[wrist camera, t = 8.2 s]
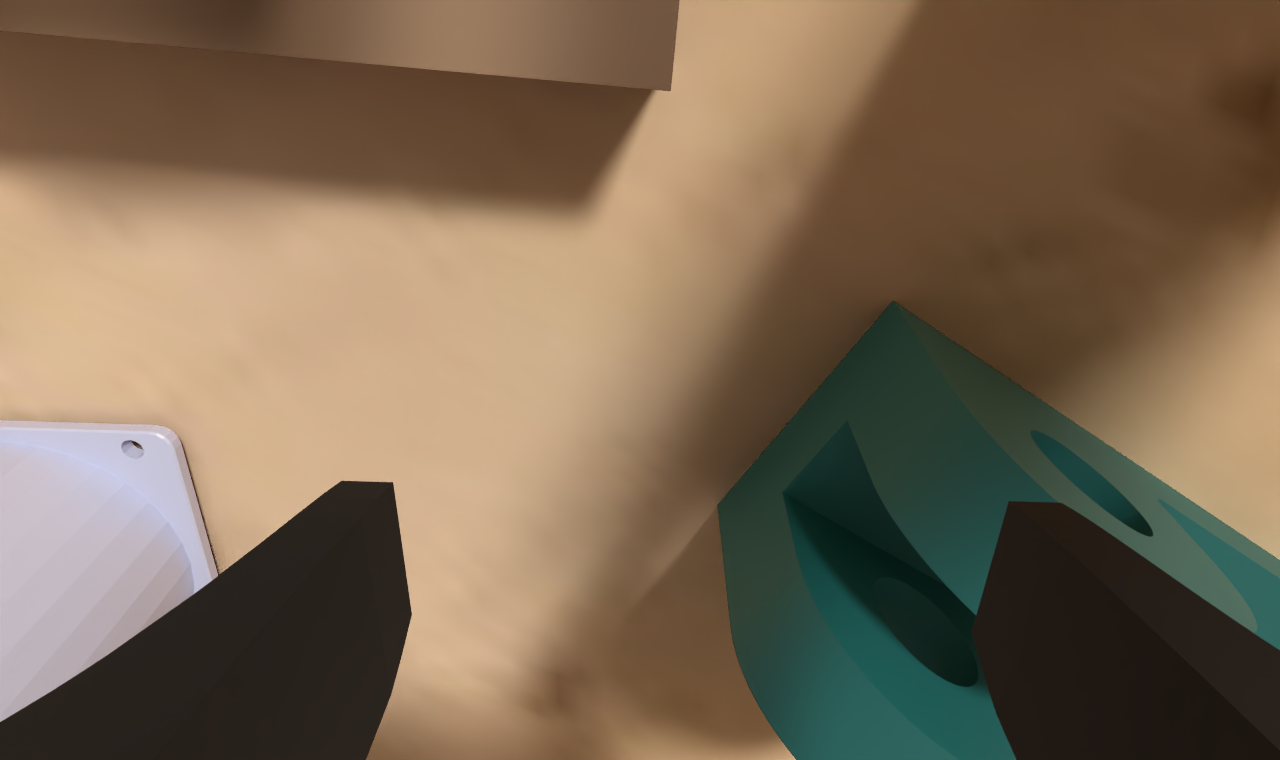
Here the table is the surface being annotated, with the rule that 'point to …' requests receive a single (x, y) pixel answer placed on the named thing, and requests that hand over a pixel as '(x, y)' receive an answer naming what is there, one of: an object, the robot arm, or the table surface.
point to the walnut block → (393, 32)
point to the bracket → (927, 546)
